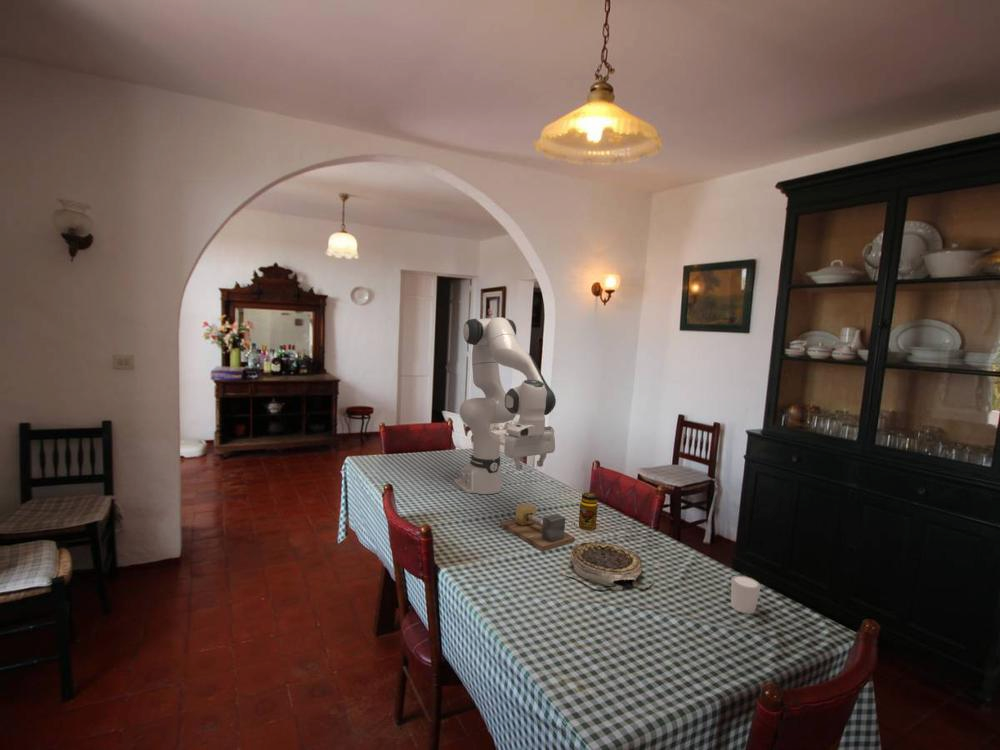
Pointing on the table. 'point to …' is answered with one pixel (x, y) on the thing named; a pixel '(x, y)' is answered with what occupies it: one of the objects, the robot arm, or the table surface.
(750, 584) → the white cup
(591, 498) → the condiment
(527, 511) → the nut
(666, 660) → the table surface
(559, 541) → the rod board
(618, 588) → the pie
